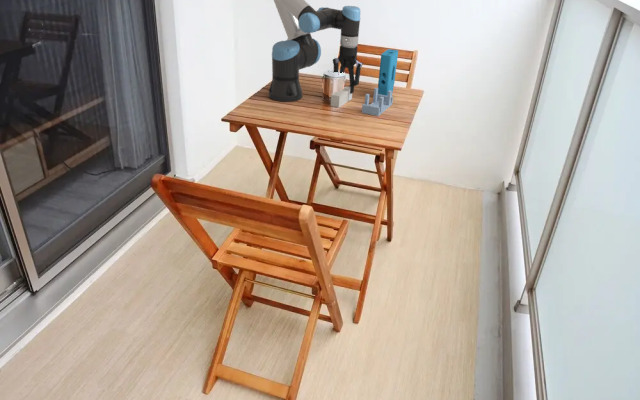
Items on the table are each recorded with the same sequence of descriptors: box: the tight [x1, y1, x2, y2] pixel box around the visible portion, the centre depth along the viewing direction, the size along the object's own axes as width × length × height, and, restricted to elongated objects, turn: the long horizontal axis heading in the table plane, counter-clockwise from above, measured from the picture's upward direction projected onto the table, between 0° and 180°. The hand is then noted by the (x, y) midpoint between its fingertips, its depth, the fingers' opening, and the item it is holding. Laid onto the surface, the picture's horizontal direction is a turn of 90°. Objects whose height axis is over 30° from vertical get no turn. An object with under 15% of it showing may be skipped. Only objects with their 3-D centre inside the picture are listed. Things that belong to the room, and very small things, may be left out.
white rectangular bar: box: [330, 86, 353, 108], centre depth 212 cm, size 14×4×5 cm, turn 153°
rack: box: [361, 87, 394, 117], centre depth 207 cm, size 17×8×7 cm, turn 153°
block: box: [377, 48, 399, 96], centre depth 218 cm, size 12×5×20 cm, turn 158°
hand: (344, 98), depth 216 cm, fingers closed on white rectangular bar, 4 cm apart
